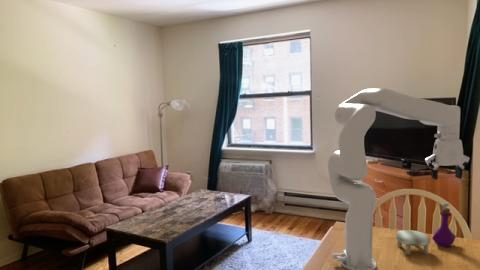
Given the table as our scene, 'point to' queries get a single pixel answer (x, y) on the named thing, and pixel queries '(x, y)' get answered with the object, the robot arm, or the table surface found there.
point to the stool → (413, 240)
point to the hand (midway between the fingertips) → (446, 178)
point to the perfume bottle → (444, 230)
